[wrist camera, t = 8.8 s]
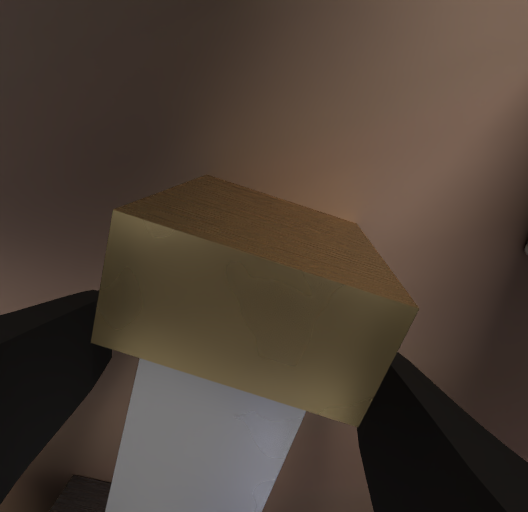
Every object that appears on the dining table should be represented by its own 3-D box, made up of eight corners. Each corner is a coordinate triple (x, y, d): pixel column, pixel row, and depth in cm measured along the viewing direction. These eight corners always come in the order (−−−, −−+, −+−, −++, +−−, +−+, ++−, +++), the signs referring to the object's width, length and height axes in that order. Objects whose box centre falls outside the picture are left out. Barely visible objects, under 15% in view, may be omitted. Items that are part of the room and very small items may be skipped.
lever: (256, 467, 15) (232, 673, 9) (142, 431, 15) (45, 615, 9) (356, 223, 11) (419, 309, 5) (206, 174, 11) (112, 209, 5)
